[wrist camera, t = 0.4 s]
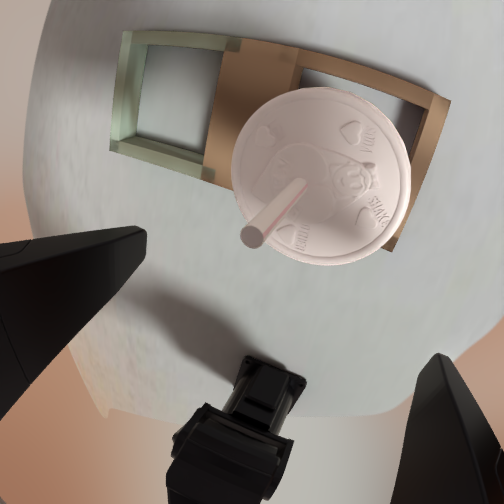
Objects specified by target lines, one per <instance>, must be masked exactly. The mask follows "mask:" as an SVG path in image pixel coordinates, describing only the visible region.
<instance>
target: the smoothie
mask: <svg viewBox="0 0 504 504" xmlns="http://www.w3.org/2000/svg"><path fill="white" fill-rule="evenodd" d="M231 179H232V186H233V190H234V195H235V198H236V201H237V203H238V206H239V208H240V210H241V212H242V214H243V216H244V218H245V219H246V221H247V222H248V224H247V225H246V226H245V227H244V228H243V229H242V230H241V233H240V237H241V240H242V242H243V243H244V244H245V245H246V246H247V247H249V248H253V249H255V248H259V247H260V246H261V245H262V244H263V243H264V242H266V243H267V244H268V245H270V246H271V247H272V248H274V249H275V250H277V251H278V252H280V253H282V254H284V255H286V256H288V257H290V258H292V259H295V260H298V261H301V262H305V263H309V264H315V265H341V264H346V263H350V262H354V261H357V260H359V259H362V258H364V257H366V256H368V255H370V254H372V253H373V252H375V251H376V250H378V249H379V248H380V247H381V246H383V245H384V244H385V243H386V242H387V241H388V240H389V239H390V238H391V237H392V235H393V234H394V233H395V232H396V230H397V229H398V227H399V225H400V224H401V222H402V220H403V218H404V215H405V213H406V210H407V207H408V203H409V199H410V192H411V166H410V162H409V158H408V154H407V151H406V147H405V144H404V142H403V140H402V138H401V137H400V135H399V133H398V131H397V130H396V128H395V127H394V125H393V123H392V122H391V121H390V120H389V119H388V118H387V117H386V116H385V115H384V114H383V113H382V112H381V111H380V110H379V109H378V108H377V107H376V106H375V105H373V104H372V103H370V102H368V101H367V100H365V99H363V98H361V97H359V96H357V95H355V94H353V93H351V92H348V91H344V90H339V89H334V88H330V87H313V88H301V89H298V90H294V91H290V92H287V93H284V94H282V95H279V96H277V97H275V98H273V99H271V100H270V101H268V102H267V103H265V104H264V105H263V106H261V107H260V108H259V109H258V110H257V111H256V112H255V113H254V114H253V115H252V116H251V117H250V118H249V119H248V121H247V122H246V123H245V125H244V127H243V128H242V130H241V132H240V134H239V136H238V138H237V141H236V143H235V147H234V150H233V155H232V162H231Z"/></svg>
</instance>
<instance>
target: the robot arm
mask: <svg viewBox="0 0 504 504" xmlns="http://www.w3.org/2000/svg"><path fill="white" fill-rule="evenodd" d="M146 246H147V232H146V231H145V230H144V229H142V228H140V227H138V226H126V227H118V228H110V229H102V230H94V231H87V232H79V233H72V234H65V235H58V236H51V237H44V238H37V239H33V240H31V239H30V240H24V241H17V242H10V243H2V244H0V421H1V419H2V418H3V417H4V416H5V414H6V413H7V412H8V411H9V410H10V408H11V407H12V406H13V405H14V404H15V402H16V401H17V400H18V399H19V398H20V397H21V395H22V394H23V393H24V392H25V391H26V390H27V388H28V387H29V386H30V384H32V382H33V381H34V380H35V379H36V378H37V377H38V376H39V375H40V374H41V372H42V371H43V370H44V369H45V368H46V367H47V365H49V364H50V362H51V361H52V360H53V359H54V358H55V357H56V356H57V355H58V354H59V353H60V352H61V350H62V349H63V348H64V347H65V346H66V345H67V344H68V343H69V342H70V341H71V340H72V339H73V338H74V337H75V335H76V334H77V333H78V332H79V331H80V330H81V329H82V328H83V327H84V326H85V325H86V324H87V323H88V322H89V321H90V320H91V319H92V318H93V317H94V316H95V315H96V314H97V313H98V312H99V311H100V310H101V309H102V308H103V306H104V305H105V304H106V303H107V302H108V301H109V300H110V299H111V298H112V297H113V296H114V295H115V294H116V293H117V292H118V291H119V290H120V288H121V287H122V286H123V285H124V283H125V282H126V281H127V280H128V279H129V277H130V276H131V275H132V274H133V272H134V271H135V270H136V269H137V268H138V266H139V265H140V264H141V263H142V262H143V260H144V258H145V256H146ZM306 384H307V382H306V381H305V380H304V379H301V378H299V377H296V376H294V375H292V374H289V373H287V372H285V371H282V370H280V369H277V368H275V367H273V366H271V365H268V364H266V363H264V362H261V361H259V360H257V359H255V358H252V357H250V356H245V357H244V359H243V361H242V364H241V367H240V370H239V373H238V376H237V380H236V383H235V386H234V389H233V392H232V394H231V396H230V397H229V399H228V401H227V403H226V404H225V406H224V408H223V409H222V411H221V410H218V409H216V408H214V407H212V406H211V405H210V404H208V403H205V404H204V405H203V406H202V407H201V408H198V409H197V410H196V412H195V413H194V415H193V416H192V417H191V419H190V420H189V421H188V422H187V423H186V424H185V425H184V426H183V427H182V428H181V429H179V430H178V431H177V432H176V433H175V434H174V435H173V437H172V440H173V443H174V445H173V449H172V452H171V457H172V458H174V460H173V462H172V464H171V466H170V467H169V469H168V471H167V473H166V487H167V493H168V504H260V502H261V500H262V499H264V500H269V499H270V498H271V497H272V495H273V493H274V492H275V490H276V489H277V486H278V485H279V483H280V481H281V478H282V476H283V474H284V471H285V468H286V465H287V462H288V459H289V456H290V452H291V450H292V446H293V443H294V440H291V439H286V438H283V437H281V436H278V434H279V432H280V430H281V427H282V425H283V423H284V420H285V418H286V416H287V414H289V412H290V411H291V409H292V408H293V406H294V405H295V403H296V401H297V400H298V398H299V397H300V395H301V394H302V392H303V390H304V389H305V387H306ZM500 448H501V446H500V444H499V442H498V440H497V438H496V436H495V434H494V432H493V430H492V429H491V427H490V425H489V423H488V421H487V420H486V418H485V416H484V414H483V412H482V411H481V409H480V407H479V405H478V404H477V402H476V400H475V399H474V397H473V395H472V393H471V392H470V390H469V388H468V387H467V385H466V383H465V382H464V380H463V379H462V377H461V375H460V374H459V372H458V370H457V369H456V367H455V366H454V364H453V363H452V361H451V359H450V358H449V357H448V356H445V355H443V354H440V353H436V354H435V355H434V356H433V357H432V358H431V359H430V360H429V362H428V363H427V364H426V365H425V367H424V368H423V369H422V370H421V372H420V373H419V375H418V378H417V383H416V387H415V392H414V396H413V401H412V405H411V409H410V413H409V417H408V421H407V426H406V431H405V437H404V443H403V448H402V454H401V459H400V465H399V469H398V474H397V478H396V482H395V487H394V491H393V495H392V499H391V502H390V504H504V451H503V449H500ZM0 504H6V503H5V502H4V501H3V500H2V499H1V497H0Z"/></svg>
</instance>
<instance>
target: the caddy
mask: <svg viewBox="0 0 504 504" xmlns="http://www.w3.org/2000/svg"><path fill="white" fill-rule="evenodd" d="M148 45H164V46H177V47H189V48H198V49H207V50H215V51H222V52H224V54H223V59H222V63H221V68H220V73H219V78H218V83H217V88H216V93H215V98H214V103H213V108H212V114H211V119H210V125H209V130H208V136H207V142H206V148H205V154H204V155H202V154H198V153H195V152H192V151H188V150H185V149H181V148H178V147H174V146H171V145H167V144H163V143H160V142H156V141H152V140H149V139H145V138H141V137H137V136H136V129H137V119H138V110H139V102H140V94H141V87H142V80H143V73H144V67H145V61H146V55H147V49H148ZM303 68H307V69H311V70H315V71H319V72H322V73H326V74H329V75H333V76H336V77H340V78H343V79H346V80H349V81H352V82H355V83H359V84H362V85H364V86H367V87H370V88H373V89H376V90H379V91H382V92H384V93H387V94H390V95H392V96H395V97H397V98H400V99H402V100H405V101H407V102H410V103H412V104H415V105H417V106H419V107H422V108H424V109H425V110H424V113H423V116H422V119H421V122H420V125H419V128H418V131H417V134H416V137H415V140H414V143H413V146H412V149H411V151H410V154H409V157H408V158H409V162H410V166H411V192H410V199H409V203H408V207H407V210H406V213H405V215H404V218H403V220H402V222H401V224H400V225H399V227H398V229H397V230H396V232H395V233H394V234H393V235H392V237H391V238H390V239H389V240H388V241H387V242H386V243H385V244H384V245H383V246H381V247H380V248H383V249H385V250H387V251H390V252H392V251H393V249H394V247H395V245H396V243H397V241H398V238H399V236H400V234H401V232H402V230H403V228H404V225H405V223H406V221H407V219H408V216H409V214H410V212H411V209H412V207H413V205H414V202H415V200H416V198H417V195H418V193H419V190H420V188H421V185H422V183H423V180H424V178H425V175H426V173H427V170H428V168H429V165H430V162H431V160H432V157H433V154H434V152H435V149H436V146H437V143H438V140H439V137H440V134H441V132H442V129H443V126H444V123H445V119H446V116H447V113H448V110H449V107H450V104H451V101H450V100H448V99H446V98H444V97H442V96H439V95H437V94H435V93H433V92H431V91H428V90H426V89H424V88H421V87H419V86H417V85H414V84H412V83H409V82H407V81H404V80H402V79H399V78H396V77H394V76H391V75H388V74H386V73H383V72H380V71H377V70H374V69H371V68H368V67H365V66H362V65H359V64H356V63H352V62H349V61H346V60H342V59H339V58H335V57H332V56H328V55H324V54H320V53H317V52H313V51H308V50H304V49H300V48H295V47H291V46H286V45H281V44H276V43H271V42H265V41H259V40H253V39H247V38H240V37H232V36H224V35H215V34H205V33H193V32H176V31H123V35H122V40H121V46H120V53H119V59H118V66H117V73H116V81H115V89H114V98H113V108H112V119H111V133H110V150H109V151H113V152H116V153H119V154H123V155H126V156H129V157H133V158H136V159H139V160H142V161H145V162H149V163H152V164H155V165H158V166H161V167H164V168H167V169H170V170H173V171H176V172H179V173H183V174H186V175H189V176H192V177H194V178H197V179H200V180H203V181H206V182H209V183H212V184H215V185H218V186H221V187H224V188H227V189H229V190H232V191H234V190H233V186H232V179H231V162H232V155H233V150H234V147H235V143H236V141H237V138H238V136H239V134H240V132H241V130H242V128H243V127H244V125H245V123H246V122H247V121H248V119H249V118H250V117H251V116H252V115H253V114H254V113H255V112H256V111H257V110H258V109H259V108H260V107H261V106H263V105H264V104H265V103H267V102H268V101H270V100H271V99H273V98H275V97H277V96H279V95H282V94H284V93H287V92H290V91H294V90H298V87H299V83H300V80H301V76H302V72H303Z"/></svg>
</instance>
